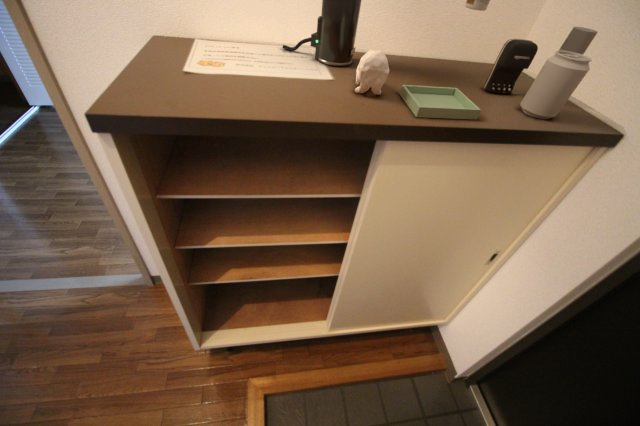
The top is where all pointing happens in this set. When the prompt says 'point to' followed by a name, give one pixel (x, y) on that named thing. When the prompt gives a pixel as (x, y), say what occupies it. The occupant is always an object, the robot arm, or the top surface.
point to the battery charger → (510, 65)
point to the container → (578, 40)
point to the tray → (439, 102)
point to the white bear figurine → (372, 72)
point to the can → (555, 84)
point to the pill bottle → (477, 4)
